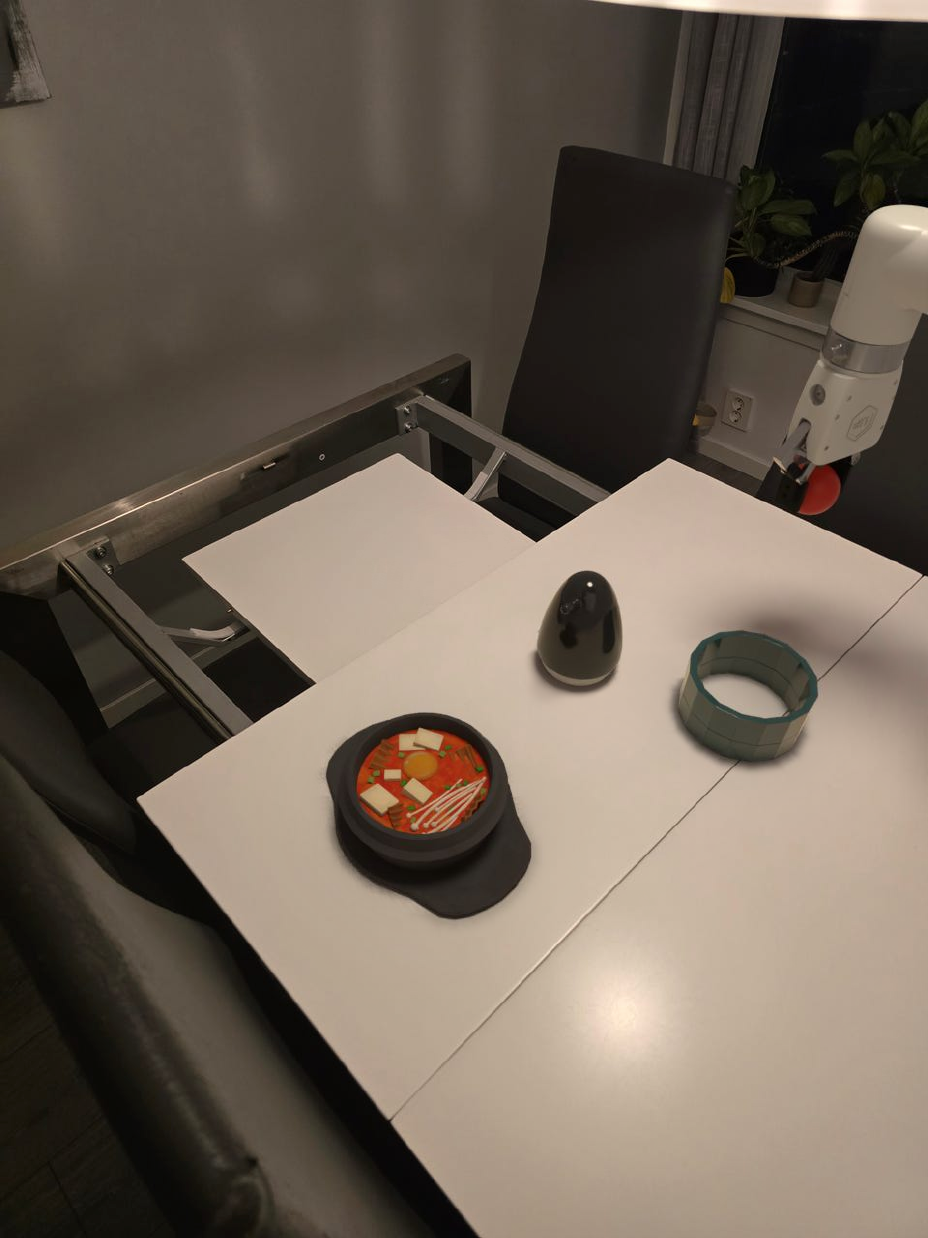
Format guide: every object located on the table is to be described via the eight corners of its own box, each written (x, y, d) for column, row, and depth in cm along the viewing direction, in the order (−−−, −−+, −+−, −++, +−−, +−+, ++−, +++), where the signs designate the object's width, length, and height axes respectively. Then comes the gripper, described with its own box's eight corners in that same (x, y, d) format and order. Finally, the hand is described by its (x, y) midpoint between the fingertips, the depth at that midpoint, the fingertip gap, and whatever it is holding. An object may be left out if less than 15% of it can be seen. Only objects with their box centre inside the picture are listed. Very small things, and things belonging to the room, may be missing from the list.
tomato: (821, 494, 93) (840, 444, 88) (837, 525, 89) (858, 474, 84) (770, 494, 93) (787, 443, 88) (784, 525, 89) (802, 473, 84)
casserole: (572, 850, 80) (580, 805, 74) (426, 967, 71) (423, 926, 66) (425, 702, 94) (422, 654, 88) (288, 785, 85) (275, 738, 79)
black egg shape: (518, 674, 97) (524, 583, 86) (562, 627, 103) (574, 536, 92) (589, 714, 92) (605, 623, 82) (631, 662, 98) (652, 570, 88)
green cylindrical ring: (736, 661, 99) (753, 615, 93) (821, 736, 90) (844, 691, 85) (652, 702, 94) (664, 657, 88) (733, 787, 85) (753, 742, 80)
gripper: (831, 383, 72) (776, 538, 84) (954, 342, 78) (886, 493, 90) (771, 351, 77) (728, 502, 89) (892, 315, 83) (835, 461, 95)
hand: (808, 496), depth 90 cm, fingers closed on tomato, 6 cm apart
